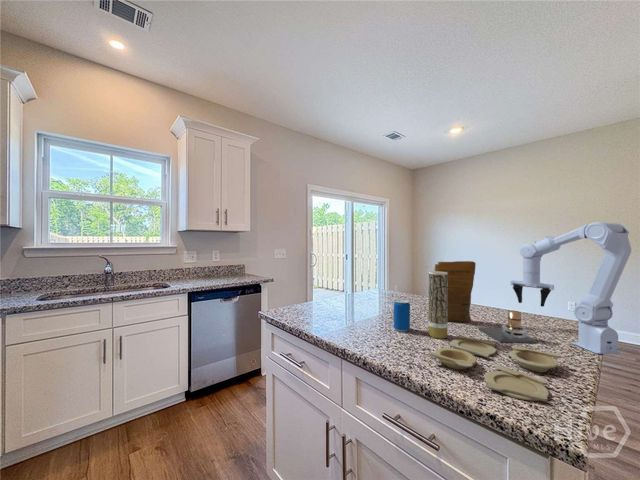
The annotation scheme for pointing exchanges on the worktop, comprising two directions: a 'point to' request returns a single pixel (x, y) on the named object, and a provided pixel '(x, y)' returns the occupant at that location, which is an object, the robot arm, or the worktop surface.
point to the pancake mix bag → (458, 288)
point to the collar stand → (507, 334)
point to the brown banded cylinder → (514, 321)
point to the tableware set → (506, 378)
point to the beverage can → (401, 315)
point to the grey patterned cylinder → (438, 304)
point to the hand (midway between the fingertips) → (531, 304)
